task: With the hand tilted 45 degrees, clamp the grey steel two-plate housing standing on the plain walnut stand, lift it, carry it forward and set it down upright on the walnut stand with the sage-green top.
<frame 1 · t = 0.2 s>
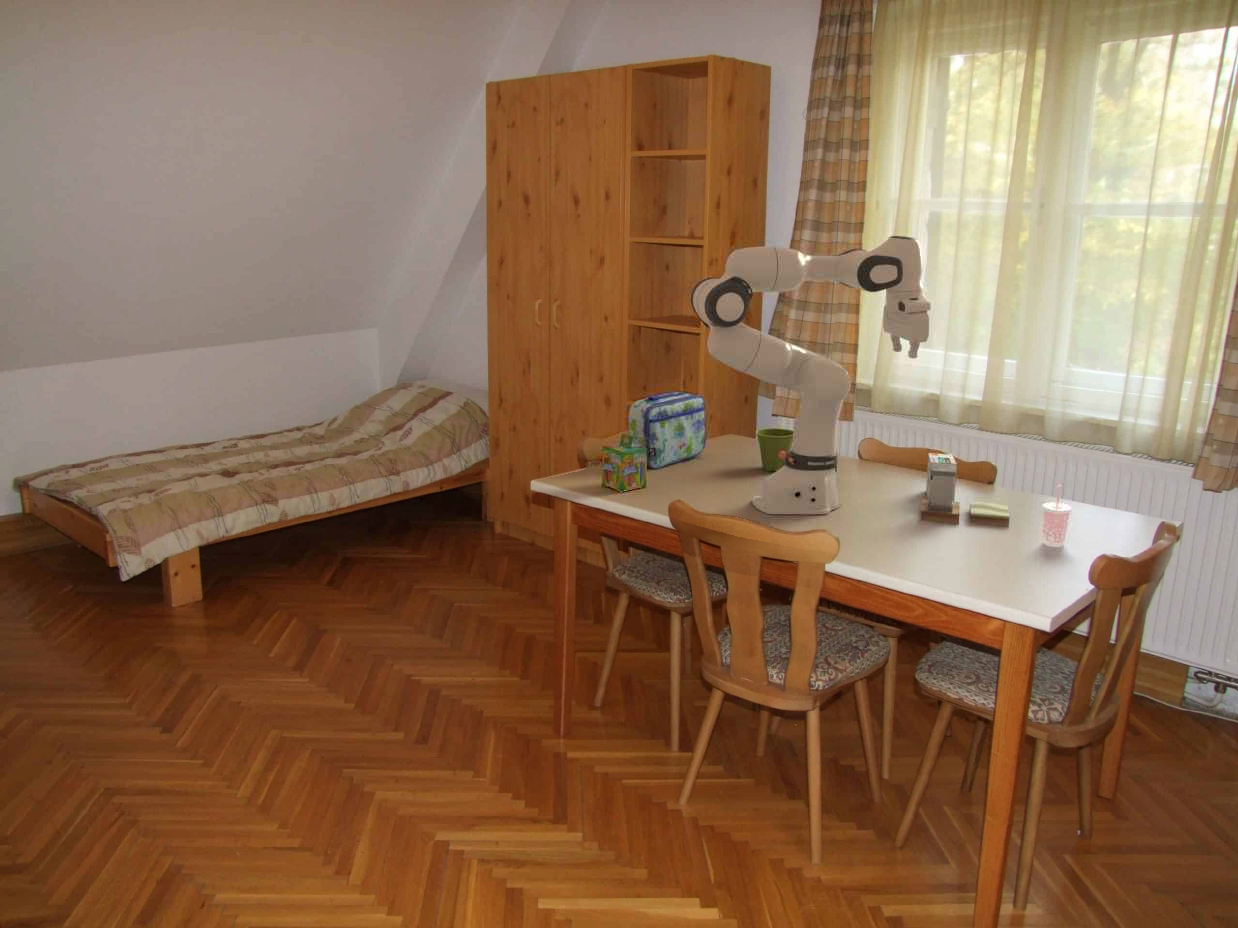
hand: (905, 354, 266), 39 cm above the table, tool pointing down, fingers open, 8 cm apart
housing: (940, 506, 261), point 2 cm above the table, touching stand a
chalk box: (624, 487, 289), on the table
stand b: (988, 518, 259), on the table
light bulb box: (939, 497, 278), on the table
stand a: (940, 516, 261), on the table
lunch box: (667, 462, 316), on the table
plant pot: (774, 469, 306), on the table
beverage cup: (1053, 544, 241), on the table
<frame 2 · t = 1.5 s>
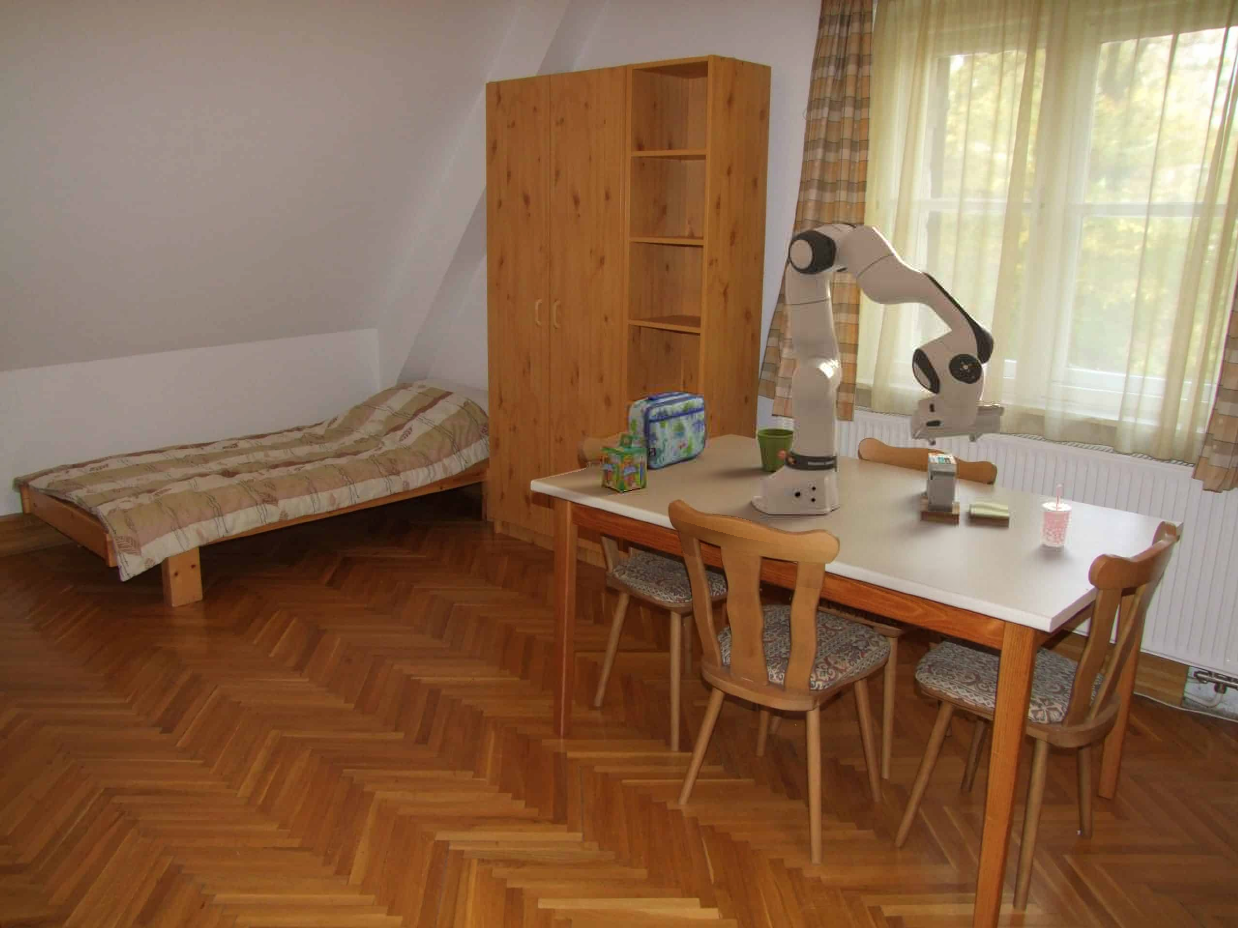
hand: (952, 441, 248), 21 cm above the table, tool tilted 45°, fingers open, 8 cm apart
nothing on the table moved.
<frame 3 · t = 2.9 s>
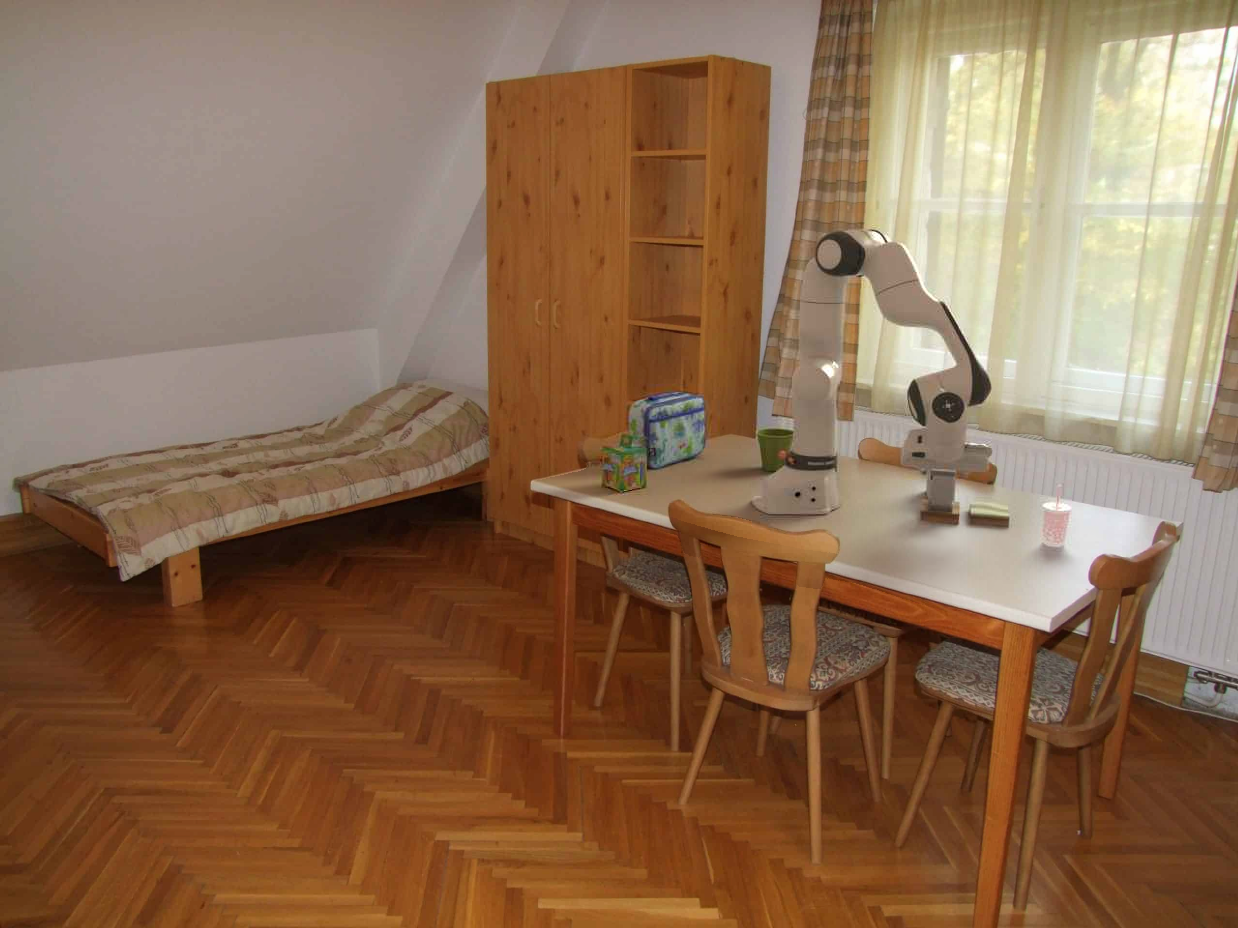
hand: (943, 473, 253), 13 cm above the table, tool tilted 45°, fingers open, 8 cm apart
nothing on the table moved.
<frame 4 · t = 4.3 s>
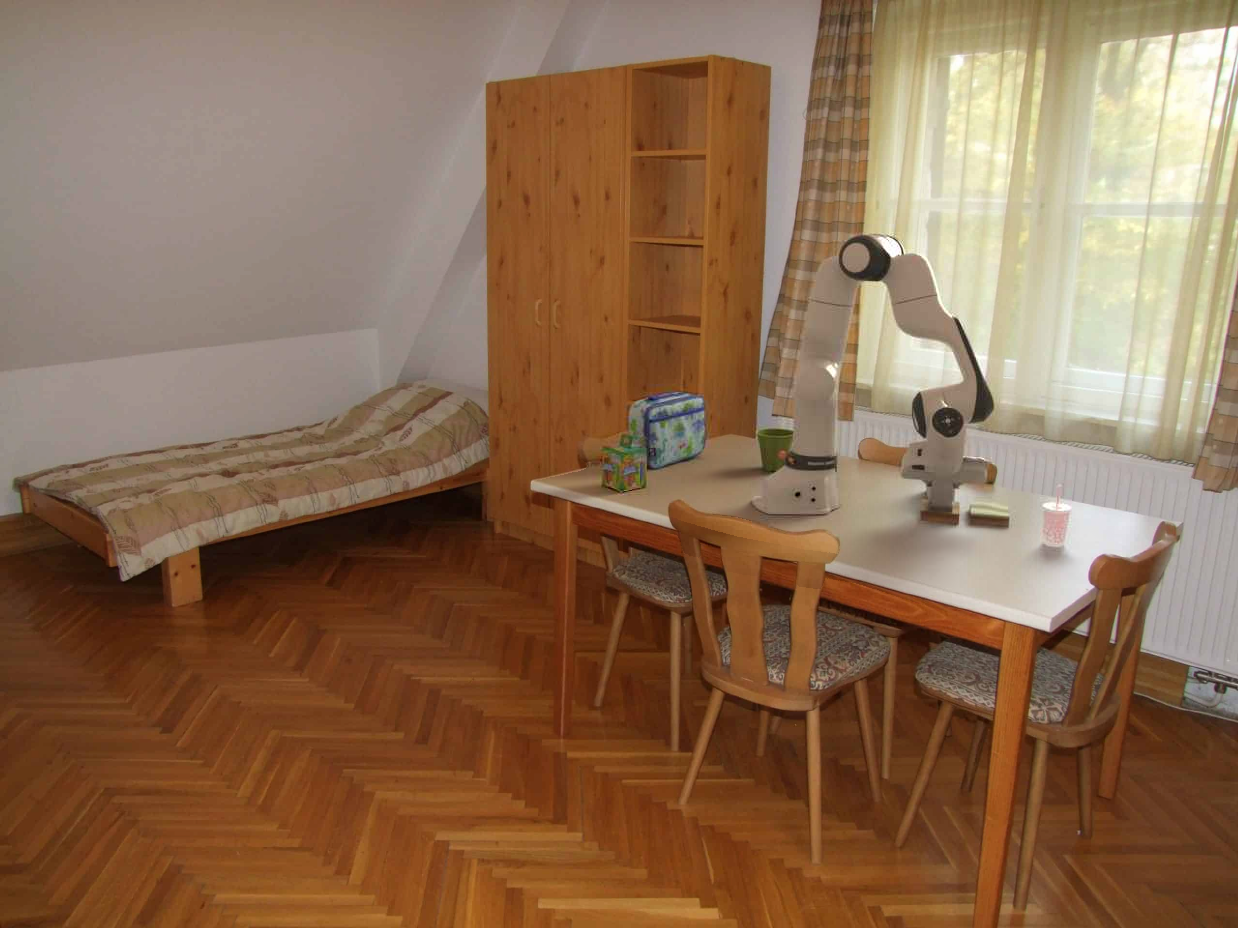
hand: (942, 485, 260), 8 cm above the table, tool tilted 45°, fingers closed on housing, 5 cm apart
housing: (940, 506, 261), point 2 cm above the table, touching gripper, stand a
everything else where it was.
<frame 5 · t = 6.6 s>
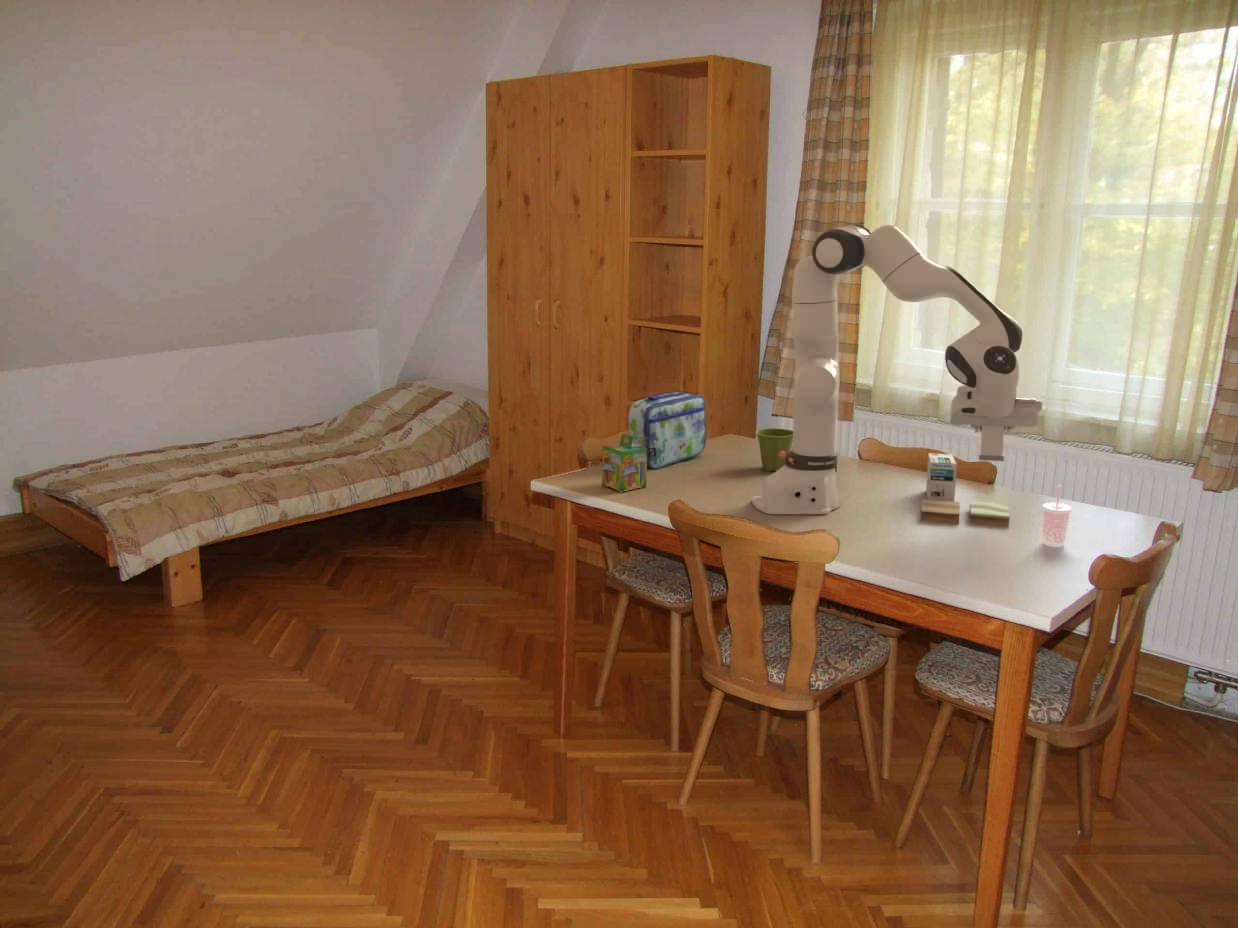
hand: (992, 430, 254), 22 cm above the table, tool tilted 45°, fingers closed on housing, 5 cm apart
housing: (990, 460, 253), point 15 cm above the table, tilted 14°, touching gripper
everything else where it was.
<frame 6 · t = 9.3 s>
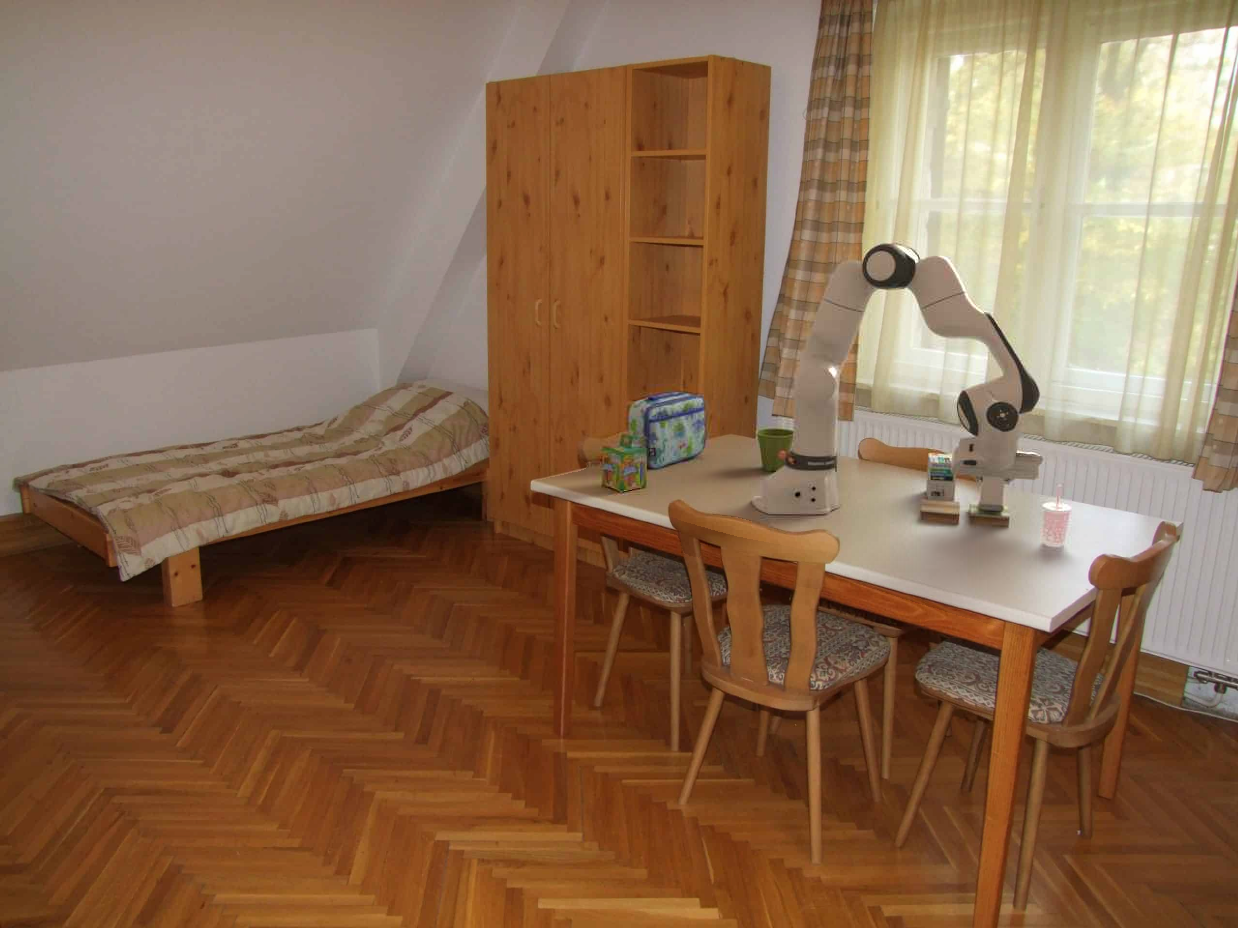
hand: (992, 480, 257), 10 cm above the table, tool tilted 45°, fingers closed on housing, 5 cm apart
housing: (990, 508, 257), point 3 cm above the table, tilted 11°, touching gripper, stand b
everything else where it was.
when the fingers open (10 cm above the table, at t = 9.5 s): housing stays where it is, resting on stand b.
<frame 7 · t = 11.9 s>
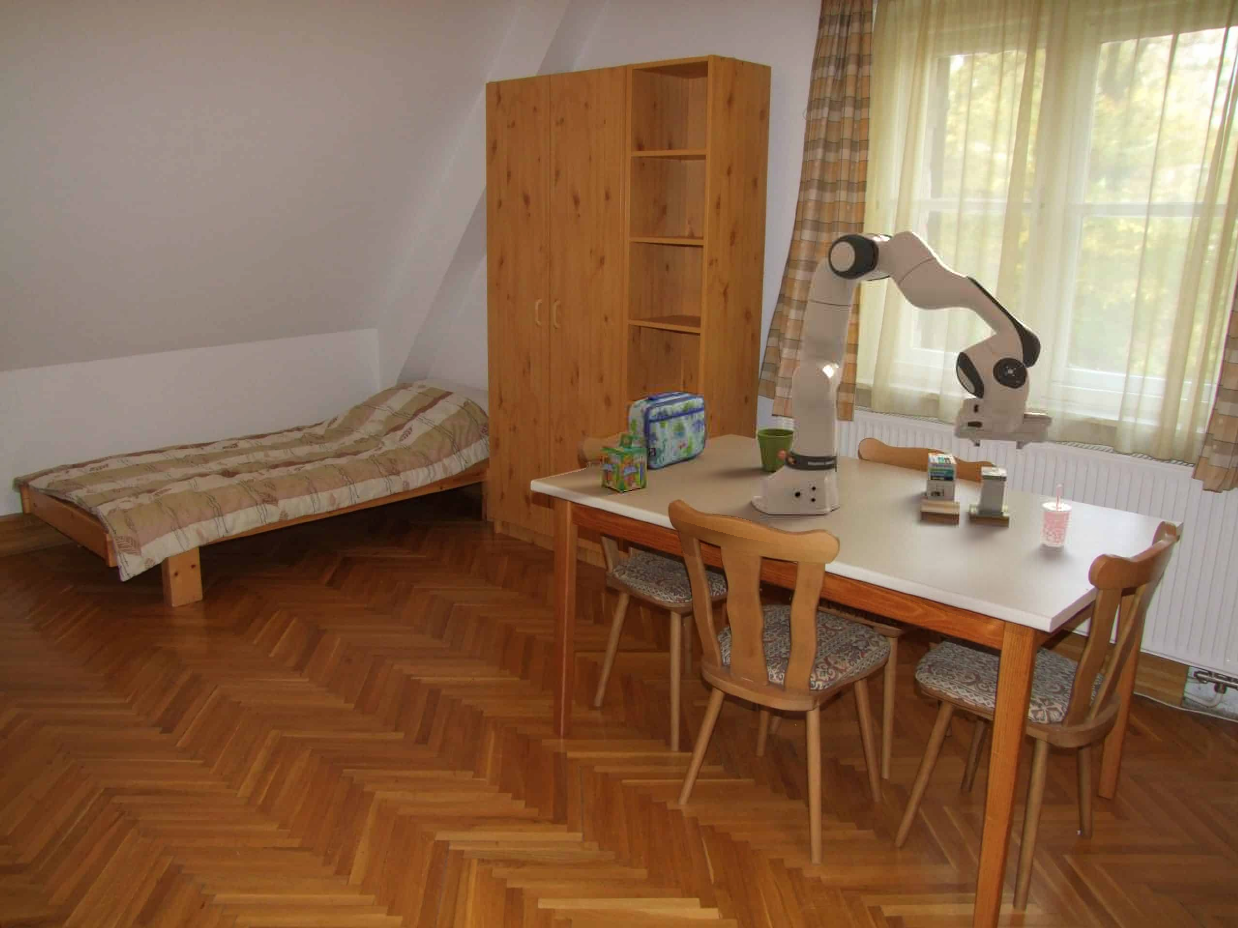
hand: (997, 445, 244), 21 cm above the table, tool tilted 45°, fingers open, 8 cm apart
housing: (990, 511, 257), point 2 cm above the table, touching stand b
everything else where it was.
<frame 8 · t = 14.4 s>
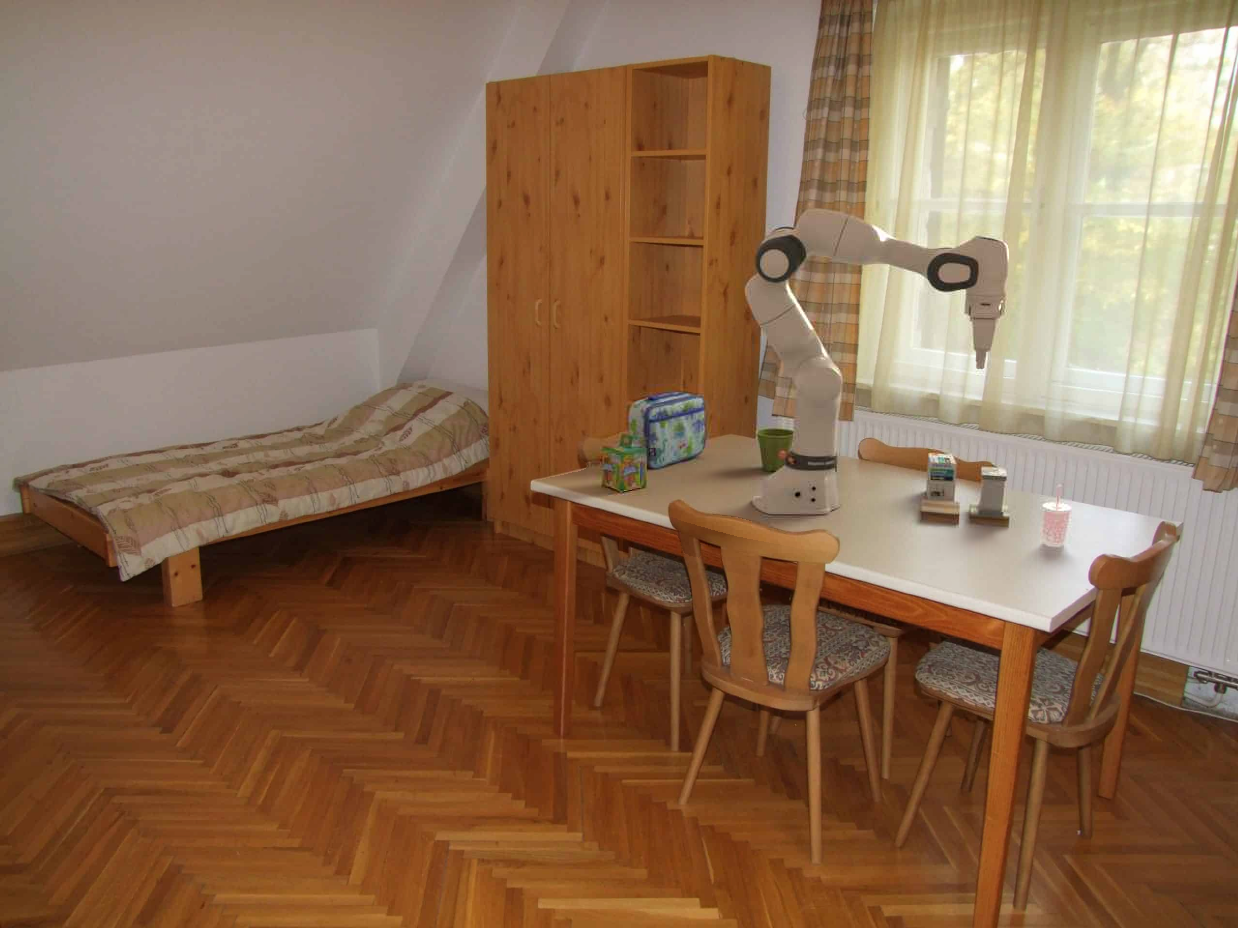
hand: (979, 365, 246), 39 cm above the table, tool pointing down, fingers open, 8 cm apart
nothing on the table moved.
at the end: housing inside the target area on the stand b (2.3 cm from its centre), point 2.5 cm above the stand b's base; housing tilted 0°; the gripper is holding nothing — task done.
